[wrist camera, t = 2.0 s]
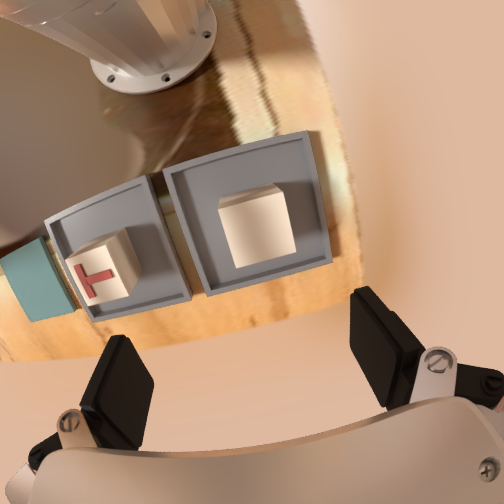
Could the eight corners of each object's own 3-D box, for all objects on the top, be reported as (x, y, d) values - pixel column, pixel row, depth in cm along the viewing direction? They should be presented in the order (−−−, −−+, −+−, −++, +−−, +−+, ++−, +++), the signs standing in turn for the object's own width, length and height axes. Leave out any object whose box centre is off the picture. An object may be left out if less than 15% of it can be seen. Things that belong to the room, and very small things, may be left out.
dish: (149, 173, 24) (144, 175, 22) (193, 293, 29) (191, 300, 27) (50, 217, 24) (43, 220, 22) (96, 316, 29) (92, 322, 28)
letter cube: (125, 227, 25) (104, 245, 20) (143, 271, 27) (128, 297, 22) (87, 241, 25) (63, 260, 20) (105, 282, 27) (87, 307, 22)
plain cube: (272, 182, 25) (283, 191, 20) (284, 232, 26) (296, 252, 22) (219, 197, 25) (217, 209, 20) (234, 246, 27) (236, 268, 22)
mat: (42, 235, 24) (38, 238, 24) (77, 308, 28) (74, 311, 28) (2, 257, 25) (-2, 260, 24) (33, 319, 28) (30, 322, 28)
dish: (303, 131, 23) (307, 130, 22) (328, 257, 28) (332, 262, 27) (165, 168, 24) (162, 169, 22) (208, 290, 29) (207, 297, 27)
